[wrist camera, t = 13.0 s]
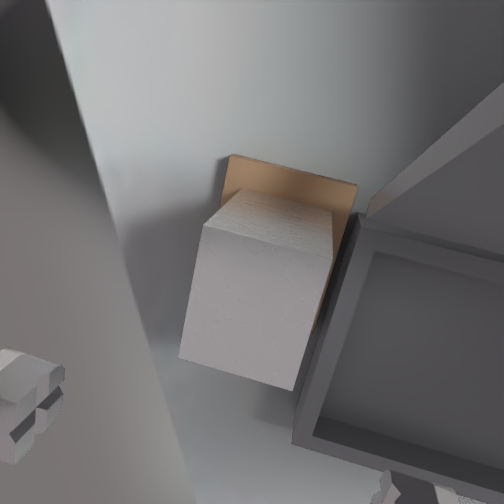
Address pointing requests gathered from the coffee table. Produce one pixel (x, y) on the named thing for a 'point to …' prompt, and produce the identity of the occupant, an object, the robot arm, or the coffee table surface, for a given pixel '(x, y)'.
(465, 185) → the lid
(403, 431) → the case
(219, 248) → the block
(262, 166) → the board
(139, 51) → the coffee table surface
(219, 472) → the coffee table surface
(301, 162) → the coffee table surface
